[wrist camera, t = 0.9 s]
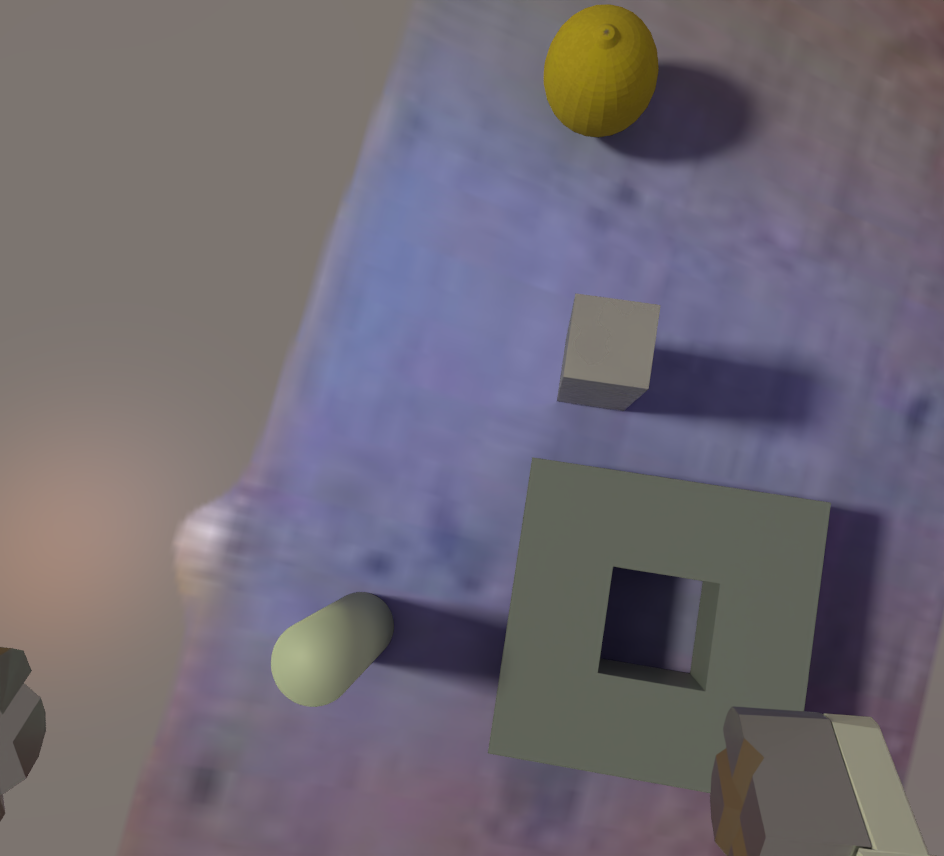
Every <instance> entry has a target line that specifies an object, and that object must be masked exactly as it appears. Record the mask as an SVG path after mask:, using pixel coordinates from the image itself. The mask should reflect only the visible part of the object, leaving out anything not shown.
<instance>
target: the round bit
mask: <svg viewBox="0 0 944 856" xmlns="http://www.w3.org/2000/svg"><path fill="white" fill-rule="evenodd" d="M393 631H394V621H393V617H392V613H391V611H390V609H389V608H388V606H387V605H386V603H385V602H384V601H383V600H381V599H380V598H379V597H377V596H375V595H373V594H370V593H366V592H356V593H351V594H348V595H346V596H344V597H343V598H341V599H339V600H337V601H335V602H334V603H332V604H330V605H328V606H326V607H325V608H323V609H321V610H319V611H317V612H316V613H314V614H312V615H310V616H309V617H307V618H305V619H303V620H301V621H300V622H298V623H296V624H294V625H293V626H291V627H289V628H288V629H287V630H286V631H285V632H284V633H283V634H282V635H281V636H280V637H279V639H278V640H277V642H276V644H275V646H274V649H273V653H272V658H271V669H272V674H273V678H274V680H275V683H276V684H277V686H278V688H279V689H280V690H281V692H282V693H283V694H284V695H285V696H286V697H287V698H289V699H290V700H292V701H293V702H295V703H298V704H300V705H304V706H310V707H317V706H323V705H326V704H329V703H331V702H333V701H335V700H336V699H338V698H339V697H340V696H341V695H342V694H343V693H344V692H345V691H346V690H347V689H348V688H349V687H350V686H351V685H352V684H353V683H354V681H355V680H356V679H357V678H358V677H359V676H360V675H361V674H362V673H363V672H364V671H365V670H366V669H367V668H368V667H369V666H370V664H371V663H372V662H373V661H374V660H375V659H376V658H377V657H378V656H379V655H380V654H381V653H382V652H383V651H384V650H385V648H386V647H387V646H388V644H389V643H390V641H391V638H392V635H393Z"/></svg>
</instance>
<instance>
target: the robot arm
mask: <svg viewBox="0 0 944 856" xmlns="http://www.w3.org/2000/svg"><path fill="white" fill-rule="evenodd" d="M31 671H32V670H31V668H30V666H29V663H28V661H27V658H26V656H25V653H24V651H22V650H17V649H13V648H4V647H0V821H1V819H2V818H3V816H4V815H5V808H4V801H3V794H4V793H6V792H7V791H9V790H10V789H12V788H13V787H14V786H16V785H17V784H19V783H20V782H22V781H23V780H25V779H26V778H27V776H28V774H29V772H30V771H31V769H32V767H33V765H34V764H35V762H36V760H37V758H38V757H39V753H40V750H41V746H42V743H43V739H44V735H45V732H46V722H45V721H46V720H45V709H44V706H43V703H42V700H41V697H40V696H38V695H37V694H36V693H35V692H33V691H32V690H31V689H30V688H29V687H28V686H27V685H25V684H24V681H25V680H26V679H27V677H28V676H29V674H30V673H31ZM723 733H724V738H725V744H726V748H725V749H724V750H723V751H721V752H720V753H718V754H717V755H716V757H715V761H714V766H713V770H712V775H711V791H710V806H711V820H712V827H713V833H714V840H715V842H716V844H717V845H718V846H719V847H720V848H721V849H722V851H723V852H724V853H725V854H726V855H727V856H936V855H929V853H928V850H927V847H926V845H925V842H924V840H923V837H922V835H921V832H920V829H919V827H918V824H917V822H916V819H915V817H914V814H913V811H912V809H911V806H910V804H909V801H908V799H907V797H906V794H905V791H904V788H903V786H902V783H901V781H900V778H899V776H898V773H897V771H896V768H895V765H894V763H893V760H892V758H891V755H890V753H889V750H888V747H887V745H886V742H885V740H884V737H883V735H882V732H881V730H880V727H879V725H878V724H877V723H876V722H875V721H874V720H873V718H872V717H864V716H851V715H838V714H826V713H825V714H821V713H819V712H806V711H792V710H778V709H763V708H749V707H735V706H732V707H731V708H730V710H729V711H728V713H727V715H726V719H725V722H724V726H723Z"/></svg>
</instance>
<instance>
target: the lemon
mask: <svg viewBox="0 0 944 856" xmlns="http://www.w3.org/2000/svg"><path fill="white" fill-rule="evenodd" d="M657 76H658V57H657V49H656V46H655V43H654V40H653V38H652V35H651V32H650V31H649V29H648V28H647V27H646V25H645V24H644V22H643V21H642V20H641V19H640V18H639V17H638V16H636V15H635V14H634V13H633V12H631V11H629V10H627V9H625V8H623V7H619V6H614V5H595V6H592V7H589V8H585V9H583V10H582V11H580V12H578V13H576V14H575V15H573V16H572V17H571V18H570V19H569V20H568V21H567V22H565V23H564V24H563V25H562V27H561V28H560V30H559V31H558V33H557V34H556V36H555V37H554V39H553V41H552V43H551V45H550V48H549V51H548V54H547V57H546V60H545V66H544V87H545V91H546V96H547V100H548V102H549V104H550V106H551V108H552V110H553V112H554V114H555V116H556V117H557V118H558V119H559V120H560V121H561V122H562V123H563V125H565V126H566V127H568V128H569V129H571V130H572V131H574V132H576V133H579V134H582V135H584V136H590V137H603V136H610V135H613V134H616V133H618V132H620V131H623V130H624V129H626V128H627V127H628V126H630V125H631V124H633V123H634V122H635V121H636V120H637V119H638V118H639V117H640V115H641V114H642V113H643V112H644V110H645V109H646V108H647V106H648V104H649V102H650V100H651V98H652V96H653V93H654V91H655V87H656V82H657Z"/></svg>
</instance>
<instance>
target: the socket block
mask: <svg viewBox="0 0 944 856" xmlns="http://www.w3.org/2000/svg"><path fill="white" fill-rule="evenodd" d="M830 506H831V503H829V502H822V501H816V500H809V499H803V498H796V497H789V496H783V495H776V494H770V493H763V492H756V491H750V490H743V489H737V488H730V487H723V486H717V485H710V484H704V483H697V482H690V481H684V480H677V479H671V478H664V477H657V476H651V475H644V474H638V473H631V472H624V471H618V470H611V469H605V468H598V467H591V466H585V465H578V464H572V463H565V462H558V461H552V460H545V459H539V458H532V463H531V470H530V477H529V483H528V490H527V497H526V503H525V510H524V517H523V523H522V530H521V537H520V543H519V550H518V557H517V563H516V570H515V577H514V583H513V590H512V596H511V603H510V610H509V616H508V623H507V630H506V636H505V643H504V650H503V656H502V663H501V670H500V676H499V683H498V690H497V696H496V703H495V710H494V716H493V723H492V730H491V736H490V743H489V750H488V753H489V754H495V755H500V756H506V757H512V758H517V759H523V760H528V761H534V762H540V763H545V764H551V765H556V766H562V767H567V768H573V769H579V770H584V771H590V772H595V773H601V774H607V775H612V776H618V777H623V778H629V779H634V780H640V781H646V782H651V783H657V784H662V785H668V786H673V787H679V788H685V789H690V790H696V791H701V792H707V793H710V791H711V775H712V770H713V766H714V761H715V757H716V755H717V754H718V753H720V752H721V751H723V750H724V749H725V748H726V744H725V738H724V733H723V726H724V722H725V719H726V715H727V713H728V711H729V710H730V708H731V707H732V706H735V707H749V708H763V709H778V710H792V711H804V707H805V699H806V692H807V684H808V676H809V668H810V661H811V653H812V645H813V638H814V630H815V622H816V614H817V607H818V599H819V591H820V583H821V576H822V568H823V560H824V552H825V545H826V537H827V529H828V522H829V514H830ZM613 567H619V568H626V569H632V570H638V571H644V572H650V573H657V574H663V575H669V576H675V577H682V578H688V579H694V580H700V581H703V584H702V591H701V598H700V605H699V613H698V620H697V627H696V635H695V642H694V649H693V656H692V664H691V671H690V673H684V672H678V671H672V670H666V669H660V668H654V667H648V666H643V665H637V664H631V663H625V662H619V661H613V660H607V659H601V658H600V654H601V647H602V640H603V633H604V626H605V619H606V612H607V605H608V598H609V591H610V584H611V577H612V570H613Z"/></svg>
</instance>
